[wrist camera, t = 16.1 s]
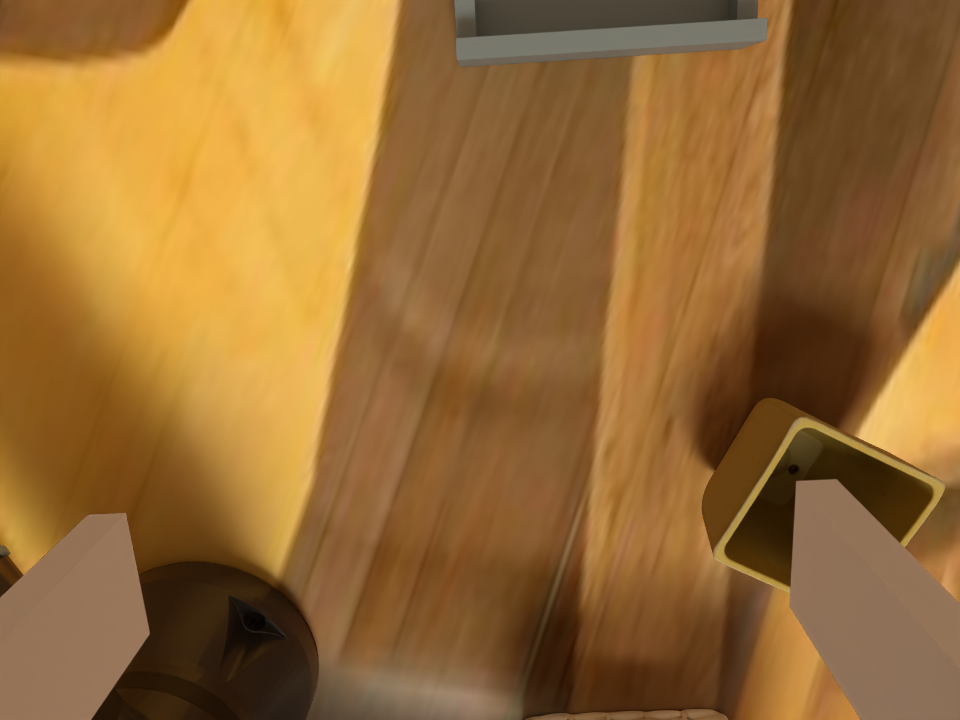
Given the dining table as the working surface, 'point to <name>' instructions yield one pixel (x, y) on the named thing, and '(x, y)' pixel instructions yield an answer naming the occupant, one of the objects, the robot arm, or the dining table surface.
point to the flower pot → (772, 488)
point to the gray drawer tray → (600, 28)
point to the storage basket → (639, 715)
